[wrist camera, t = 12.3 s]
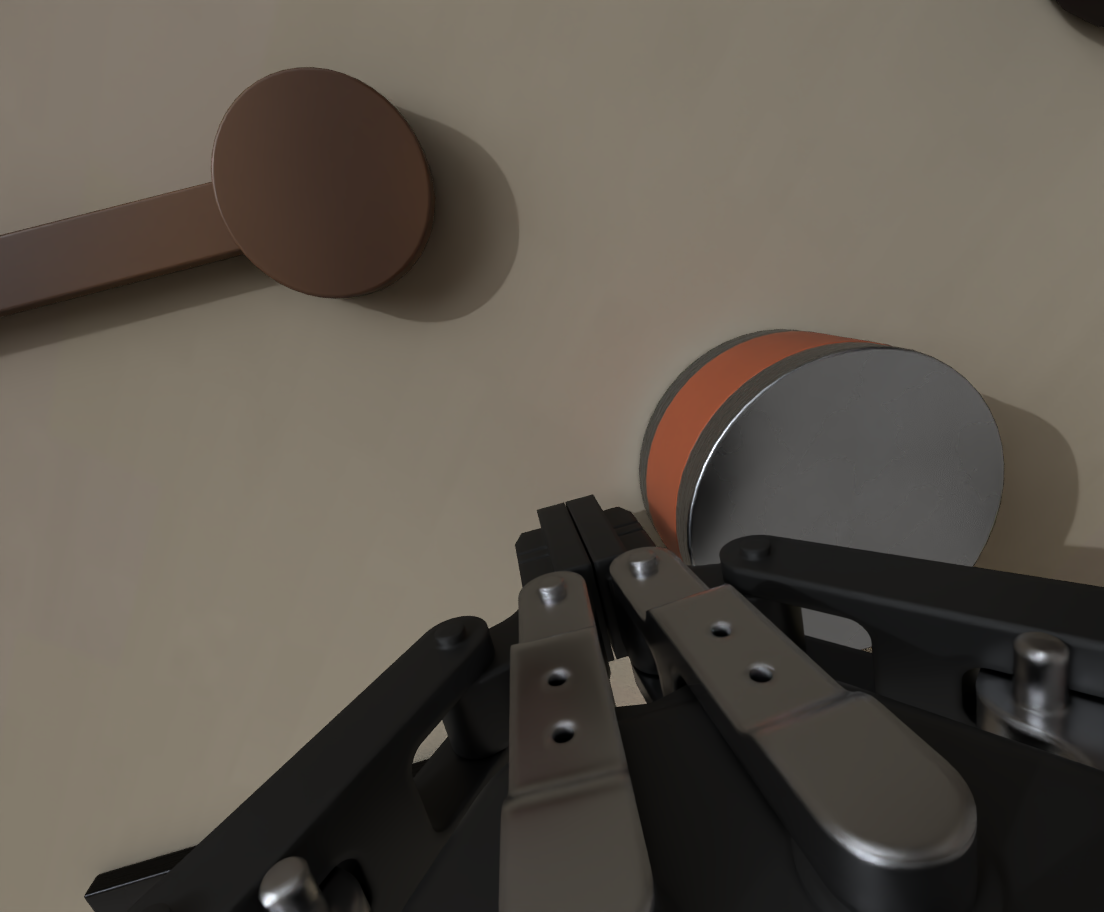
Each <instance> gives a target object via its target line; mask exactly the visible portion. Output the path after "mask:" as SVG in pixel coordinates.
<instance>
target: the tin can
mask: <svg viewBox="0 0 1104 912" xmlns="http://www.w3.org/2000/svg"><path fill="white" fill-rule="evenodd" d="M639 478H640V489H641V494H642V499H643V503H644V506H645V509H646V512H647V514H648V517H649V519H650V521H651V522H652V524H653V526H654V528H655V530H656V531H657V533H658V534H659V535H660V537H661V539H662V541H663V543H664V544H665V545H666V547H667V548H668V549H669V550H671V551H672V552H673V553H675V554H676V555H677V556H678V557H679V558H680V559H681V560H682V561H683V562H684V563H685V564H686V565H708V564H718V563H720V557H719V553H720V550H721V548H722V547H723V546H724V545H725V544H727V543H728V542H730V541H732V540H734V539H737V538H740V537H744V536H750V535H771V536H778V537H784V538H791V539H797V540H804V541H810V542H816V543H823V544H829V545H836V546H842V547H849V548H855V549H861V550H868V551H874V552H881V553H887V554H894V555H900V556H906V557H913V558H919V559H926V560H932V561H939V562H945V563H951V564H958V565H964V566H971V567H973V566H974V565H975V563H976V562H977V560H978V558H979V556H980V555H981V553H982V551H983V549H984V547H985V545H986V544H987V542H988V539H989V537H990V534H991V532H992V529H993V527H994V525H995V522H996V518H997V515H998V511H999V508H1000V504H1001V498H1002V492H1003V485H1004V457H1003V448H1002V443H1001V439H1000V435H999V431H998V427H997V425H996V422H995V420H994V418H993V416H992V413H991V411H990V409H989V407H988V406H987V404H986V403H985V401H984V400H983V398H982V396H981V395H980V393H979V392H978V391H977V390H976V389H975V388H974V387H973V386H972V385H971V384H970V382H969V381H968V380H967V379H966V378H965V377H963V376H962V375H961V374H960V373H958V372H957V371H956V370H954V369H953V368H952V367H951V366H949V365H947V364H945V363H943V362H942V361H940V360H938V359H936V358H934V357H932V356H929V355H926V354H923V353H921V352H918V351H915V350H911V349H905V348H899V347H894V346H890V345H886V344H881V343H875V342H870V341H864V340H858V339H852V338H845V337H839V336H833V335H827V334H821V333H815V332H805V331H798V330H785V329H774V330H765V331H758V332H754V333H750V334H746V335H742V336H739V337H737V338H734V339H732V340H729V341H727V342H724V343H722V344H721V345H719V346H717V347H715V348H713V349H711V350H710V351H708V352H707V353H705V354H704V355H702V356H701V357H700V358H698V359H697V360H695V361H694V362H693V363H692V364H691V365H690V366H689V367H688V368H686V369H685V370H684V371H683V372H682V373H681V374H680V375H679V376H678V377H677V379H676V380H675V381H674V382H673V383H672V384H671V386H670V387H669V388H668V389H667V391H666V392H665V394H664V395H663V397H662V398H661V400H660V401H659V403H658V405H657V407H656V409H655V411H654V413H653V415H652V416H651V418H650V421H649V424H648V427H647V429H646V432H645V435H644V439H643V443H642V448H641V452H640V464H639ZM801 609H802V617H803V625H804V634H805V635H807V636H811V637H814V638H818V639H822V640H826V641H829V642H833V643H837V644H840V645H844V646H848V647H851V648H855V649H859V650H863V649H866V648H869V647H872V643H871V638H870V636H869V634H868V633H867V631H866V630H865V629H864V628H863V627H862V626H861V625H859V624H858V623H856V622H855V621H853V620H850V619H847V618H843V617H839V616H835V615H831V614H827V613H822V612H818V611H814V610H810V609H806V608H801Z"/></svg>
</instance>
